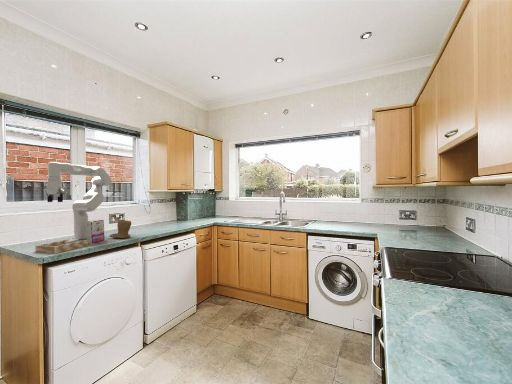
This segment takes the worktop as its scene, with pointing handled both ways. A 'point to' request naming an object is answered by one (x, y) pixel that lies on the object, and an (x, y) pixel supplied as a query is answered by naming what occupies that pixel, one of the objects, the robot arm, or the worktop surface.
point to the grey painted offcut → (71, 241)
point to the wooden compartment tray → (59, 246)
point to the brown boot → (122, 229)
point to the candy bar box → (95, 231)
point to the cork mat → (97, 242)
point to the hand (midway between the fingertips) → (55, 202)
